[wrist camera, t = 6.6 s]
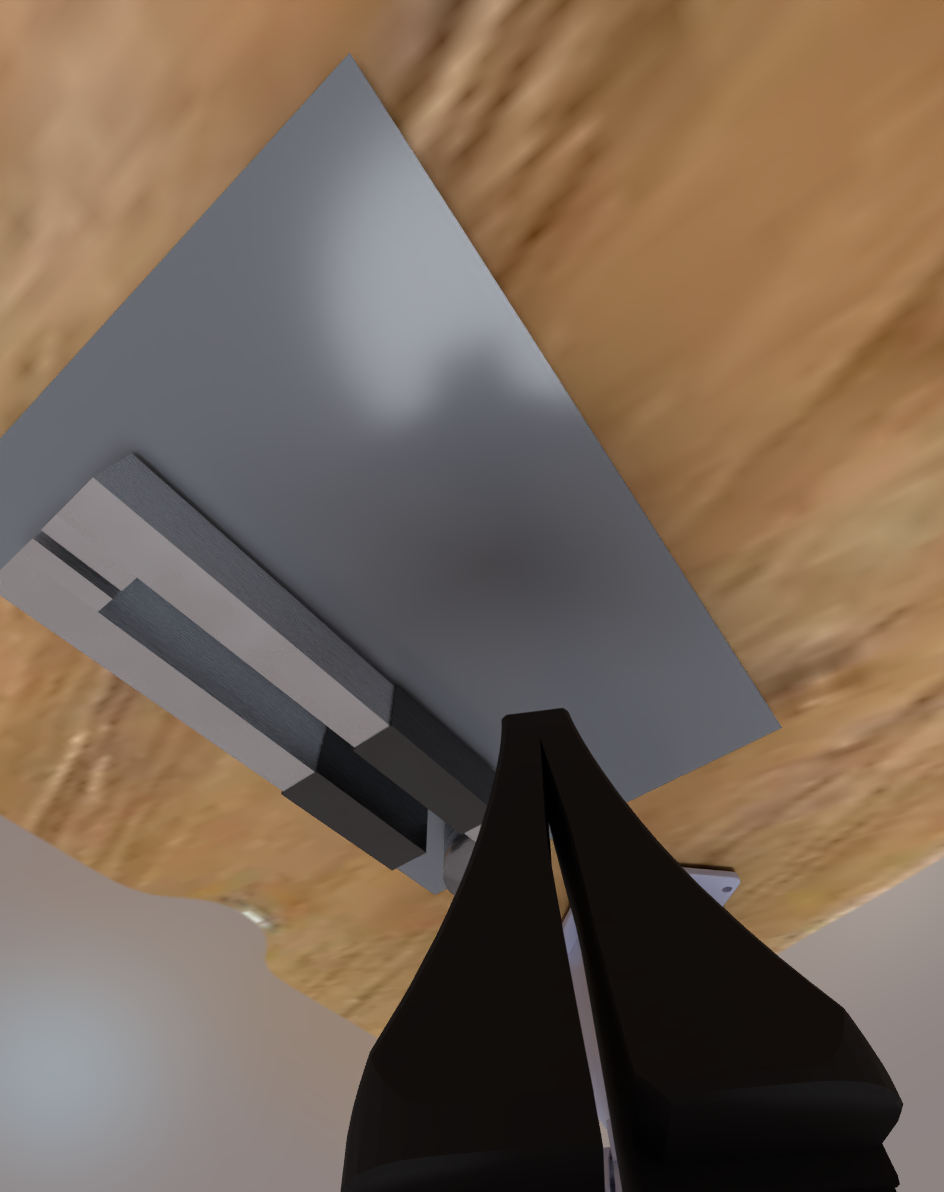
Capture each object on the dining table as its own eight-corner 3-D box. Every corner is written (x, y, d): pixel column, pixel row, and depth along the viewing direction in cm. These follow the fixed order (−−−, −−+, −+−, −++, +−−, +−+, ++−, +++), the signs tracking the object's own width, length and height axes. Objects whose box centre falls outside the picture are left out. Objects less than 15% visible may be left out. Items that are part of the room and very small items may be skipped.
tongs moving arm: (559, 829, 25) (568, 873, 23) (478, 869, 27) (480, 914, 25) (134, 450, 16) (94, 475, 14) (41, 542, 17) (-6, 576, 15)
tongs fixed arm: (439, 796, 24) (437, 846, 22) (396, 819, 25) (392, 870, 23) (82, 504, 17) (31, 539, 15) (36, 548, 18) (-19, 588, 15)
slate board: (770, 710, 24) (781, 727, 23) (435, 875, 29) (434, 894, 28) (355, 66, 13) (349, 53, 12) (-60, 519, 18) (-86, 533, 17)
